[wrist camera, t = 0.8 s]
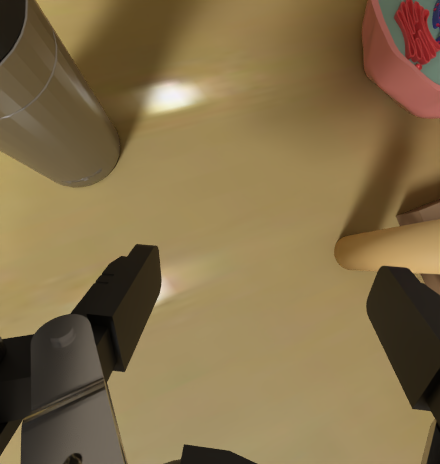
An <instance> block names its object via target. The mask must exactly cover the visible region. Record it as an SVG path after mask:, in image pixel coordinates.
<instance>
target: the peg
mask: <svg viewBox="0 0 440 464" xmlns="http://www.w3.org/2000/svg"><path fill="white" fill-rule="evenodd" d="M334 254H335V258H336V260H337V262H338V263H339V265H340V266H342V267H343V268H345V269H348V270H362V271H378V270H379V268H380V267H381V266H395V267H406V268H408V269H410V270H411V272H412V273H424V274H440V219H438V220H432V221H426V222H421V223H415V224H410V225H404V226H399V227H393V228H388V229H382V230H376V231H371V232H365V233H360V234H354V235H349V236H344V237H342V238H341V239H340V240H339V241H338V242H337V243H336V245H335V249H334Z"/></svg>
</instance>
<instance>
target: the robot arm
mask: <svg viewBox="0 0 440 464" xmlns="http://www.w3.org/2000/svg"><path fill="white" fill-rule="evenodd" d="M0 151H1V152H3V153H5V154H7V155H9V156H10V157H12V158H14V159H16V160H17V161H19V162H21V163H23V164H24V165H26V166H28V167H30V168H32V169H33V170H35V171H37V172H38V173H40V174H42V175H44V176H46V177H47V178H49V179H51V180H53V181H55V182H56V183H59V184H61V185H64V186H69V187H84V186H89V185H92V184H94V183H97V182H99V181H101V180H102V179H103V178H105V177H106V176H107V175H108V174H109V173H110V172H111V171H112V170H113V168H114V166H115V165H116V163H117V161H118V157H119V154H120V140H119V136H118V133H117V131H116V129H115V127H114V126H113V124H112V122H111V121H110V119H109V118H108V116H107V114H106V113H105V111H104V109H103V108H102V106H101V104H100V103H99V101H98V99H97V98H96V96H95V95H94V93H93V91H92V90H91V88H90V87H89V85H88V83H87V82H86V80H85V79H84V77H83V75H82V74H81V72H80V70H79V69H78V67H77V66H76V64H75V62H74V61H73V59H72V58H71V56H70V54H69V53H68V51H67V50H66V48H65V46H64V45H63V43H62V42H61V40H60V38H59V37H58V35H57V33H56V32H55V30H54V29H53V27H52V25H51V24H50V22H49V21H48V19H47V18H46V16H45V15H44V13H43V11H42V10H41V8H40V7H39V5H38V3H37V2H36V0H0ZM160 289H161V269H160V259H159V250H158V247H157V246H153V245H141V244H136V245H135V246H134V248H133V249H132V251H131V252H130V253H129V255H128V256H127V257H125V256H121V257H119V258H118V259H116V260H115V261H113V262H111V263H110V264H109V265H108V266H107V268H106V269H105V270H104V271H103V273H102V275H100V277H99V278H98V279H97V280H96V283H94V284H93V285H92V287H91V288H90V289H89V291H88V292H87V293H86V294H85V296H84V297H83V298H82V300H81V301H80V302H79V303H78V305H77V306H76V307H75V308H74V310H73V311H72V312H71V314H68V315H63V316H60V317H57V318H54V319H52V320H50V321H49V322H47V323H45V324H44V325H43V326H42V327H40V328H39V329H38V330H37V332H36V333H35V334H33V335H27V336H20V337H14V338H7V339H1V337H0V456H1V454H2V452H3V451H4V449H5V448H6V446H7V444H8V443H9V441H10V439H11V438H12V436H13V435H14V433H15V431H16V430H17V428H18V427H19V425H20V423H21V422H22V420H23V423H22V430H21V464H128V462H127V459H126V455H125V451H124V447H123V444H122V440H121V436H120V432H119V428H118V424H117V420H116V416H115V412H114V408H113V404H112V400H111V396H110V392H109V389H108V385H107V381H108V379H109V377H110V375H111V373H112V371H121V372H125V370H126V368H127V366H128V364H129V361H130V359H131V357H132V355H133V352H134V350H135V348H136V345H137V343H138V341H139V339H140V336H141V334H142V332H143V330H144V327H145V325H146V323H147V321H148V318H149V316H150V314H151V312H152V309H153V307H154V305H155V303H156V300H157V298H158V296H159V293H160ZM366 307H367V314H368V317H369V319H370V321H371V323H372V325H373V327H374V329H375V331H376V334H377V336H378V338H379V340H380V342H381V344H382V346H383V348H384V350H385V352H386V354H387V357H388V359H389V361H390V363H391V365H392V367H393V369H394V371H395V373H396V375H397V377H398V379H399V382H400V384H401V386H402V388H403V390H404V392H405V394H406V396H407V398H408V400H409V402H410V405H411V407H412V409H418V410H426V411H431V412H432V414H433V416H434V417H435V419H434V421H433V422H432V423H431V426H430V429H429V433H428V437H427V441H426V445H425V449H424V453H423V457H422V461H421V464H440V295H439V294H438V293H436V292H435V291H433V290H432V289H431V288H429V287H428V286H426V285H425V284H424V283H420V281H419V280H418V279H417V278H416V277H415V275H414V274H413V273H412V272H411V270H410V269H408V268H406V267H395V266H381V267H380V268H379V270H378V272H377V275H376V278H375V280H374V283H373V285H372V288H371V291H370V293H369V296H368V299H367V305H366ZM165 464H256V463H254V462H252V461H250V460H248V459H246V458H244V457H242V456H239V455H237V454H235V453H233V452H231V451H227V450H220V449H213V448H206V447H199V446H192V445H185V444H184V447H183V452H182V457H181V459H180V460H174V461H171V462H168V463H165Z"/></svg>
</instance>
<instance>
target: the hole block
mask: <svg viewBox="0 0 440 464" xmlns="http://www.w3.org/2000/svg"><path fill="white" fill-rule="evenodd" d="M396 217H397V220H398V222H399V224H400V226H404V225H410V224H415V223H421V222H426V221H432V220H438V219H440V199H438V200H436V201H433V202H431V203H428V204H426V205H423V206H421V207H418V208H416V209H413V210H410V211H408V212H405V213H403V214H400V215H398V216H396ZM421 275H422V277H423V280H424V282H425V284H426V286H428V287H429V288H431V289H432V290H433V291H435V292H436V293H438V294H439V295H440V274H424V273H421Z"/></svg>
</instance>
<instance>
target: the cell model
mask: <svg viewBox="0 0 440 464" xmlns="http://www.w3.org/2000/svg"><path fill="white" fill-rule="evenodd" d="M362 43H363V64H364V71H365V74H366V76H367V77H368V78H369V79H370V80H371V81H372V82H374V83H375V84H376V85H377V86H378V87H380V88H381V89H382V90H383V91H384V92H385V93H386V94H387V95H388V96H389V97H390V98H391V99H392V100H393V101H394V102H396V103H397V104H398V105H399V106H400V107H402V108H403V109H404V110H405V111H406V112H408V113H410V114H412V115H414V116H417V117H420V118H428V119H433V118H440V0H367V4H366V8H365V13H364V19H363V24H362Z"/></svg>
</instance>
